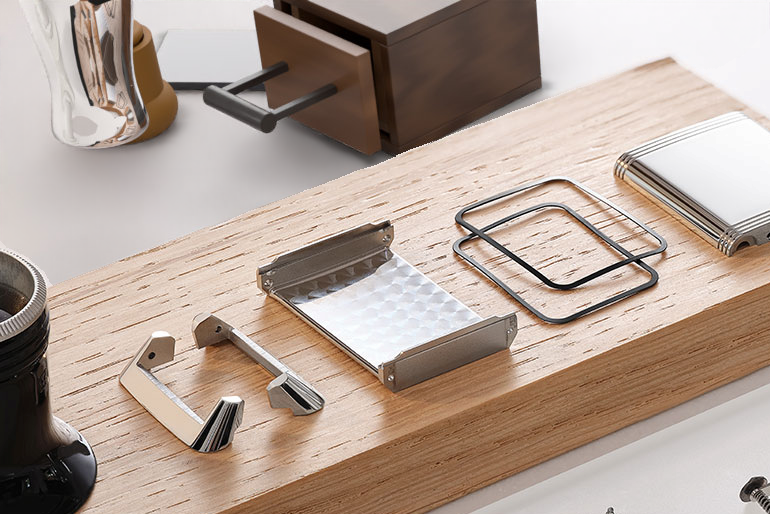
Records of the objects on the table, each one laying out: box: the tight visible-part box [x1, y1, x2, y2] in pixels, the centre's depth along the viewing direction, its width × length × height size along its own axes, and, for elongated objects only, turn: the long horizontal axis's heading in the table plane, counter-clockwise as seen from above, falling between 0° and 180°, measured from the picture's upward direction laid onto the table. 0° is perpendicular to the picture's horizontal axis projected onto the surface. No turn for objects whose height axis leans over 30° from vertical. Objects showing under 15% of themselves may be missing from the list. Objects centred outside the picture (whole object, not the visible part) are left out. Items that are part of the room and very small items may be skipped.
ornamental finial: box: [120, 18, 179, 146], centre depth 145 cm, size 8×8×8 cm
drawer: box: [202, 4, 390, 156], centre depth 144 cm, size 19×11×7 cm, turn 140°
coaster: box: [156, 29, 266, 91], centre depth 155 cm, size 11×8×1 cm
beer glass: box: [18, 0, 149, 150], centre depth 130 cm, size 7×7×15 cm
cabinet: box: [272, 0, 543, 157], centre depth 148 cm, size 14×12×9 cm
